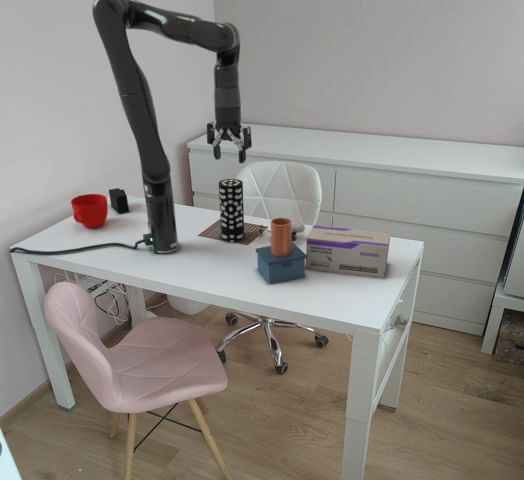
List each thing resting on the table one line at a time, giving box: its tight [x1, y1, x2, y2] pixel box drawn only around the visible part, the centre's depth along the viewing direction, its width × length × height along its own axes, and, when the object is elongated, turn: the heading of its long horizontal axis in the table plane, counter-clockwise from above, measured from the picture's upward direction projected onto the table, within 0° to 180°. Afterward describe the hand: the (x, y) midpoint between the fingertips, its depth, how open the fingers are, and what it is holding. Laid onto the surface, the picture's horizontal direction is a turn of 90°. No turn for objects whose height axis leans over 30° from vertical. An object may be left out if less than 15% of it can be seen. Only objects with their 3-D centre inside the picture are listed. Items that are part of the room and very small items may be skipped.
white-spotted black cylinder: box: [218, 178, 245, 243], centre depth 191 cm, size 8×8×20 cm
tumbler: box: [270, 217, 293, 256], centre depth 165 cm, size 6×6×10 cm
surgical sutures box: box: [305, 225, 391, 279], centre depth 173 cm, size 25×11×11 cm, turn 74°
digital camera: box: [108, 187, 130, 215], centre depth 219 cm, size 10×5×7 cm, turn 30°
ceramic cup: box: [70, 193, 109, 229], centre depth 203 cm, size 13×17×10 cm
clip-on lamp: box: [255, 222, 306, 243], centre depth 194 cm, size 12×6×18 cm
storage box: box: [254, 242, 307, 284], centre depth 171 cm, size 13×11×8 cm
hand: (229, 160), depth 164 cm, fingers open, 8 cm apart
